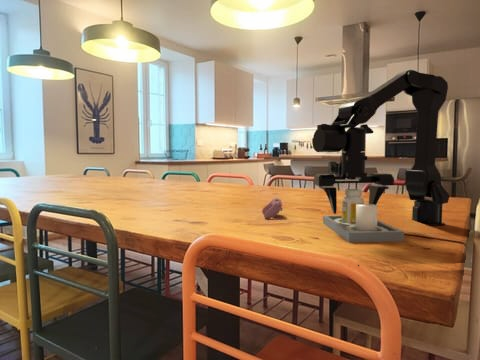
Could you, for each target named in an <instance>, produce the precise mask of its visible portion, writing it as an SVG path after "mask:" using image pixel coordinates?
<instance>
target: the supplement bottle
mask: <svg viewBox="0 0 480 360" xmlns="http://www.w3.org/2000/svg"><path fill="white" fill-rule="evenodd" d="M362 191H363V190H362V189H359V188H347V189H345V190H344V193H345V194H344V195H345V197H343V198H342V200H341V216H342V223H348V224H356V204H365V200H364V198H363V197H361V196H362V194H363V192H362Z"/></svg>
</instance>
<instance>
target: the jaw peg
mask: <svg viewBox="0 0 480 360" xmlns="http://www.w3.org/2000/svg"><path fill="white" fill-rule="evenodd" d="M378 206H379V205H377V204H376V205H374V204H369V203H364V204H356V231H377V220H378V208H379V207H378Z"/></svg>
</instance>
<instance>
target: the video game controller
mask: <svg viewBox="0 0 480 360" xmlns="http://www.w3.org/2000/svg"><path fill="white" fill-rule="evenodd" d="M282 211H283V203H282V199H280V198H278V197H273V198H272V200H270V202H269V203H268V204H266V205H265V206H264V207H262V210H261V213H262V214H263V217H264V219H266V220H268V219H272V218H276V217H277V215H278V214H279V213H280V212H282Z"/></svg>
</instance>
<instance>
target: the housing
mask: <svg viewBox="0 0 480 360" xmlns="http://www.w3.org/2000/svg"><path fill="white" fill-rule="evenodd" d="M322 224H323V225H325V226H326V227H327V228H328V229H330V230H331V231H332V232H334V233H335V234H337V235H338V236H340V237H341V238H342V239H343V240H345V241H347V242H348V243H373V242H374V243H376V242H377V243H381V242H384V243H386V242H390V243H391V242H405V231H403V230H401V229H399V228H397V227H394V226H392V225H389V224H387V223H386V222H383V221H381V220H379V219H377V231H356V224H348V223H342V215H323V216H322Z"/></svg>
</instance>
